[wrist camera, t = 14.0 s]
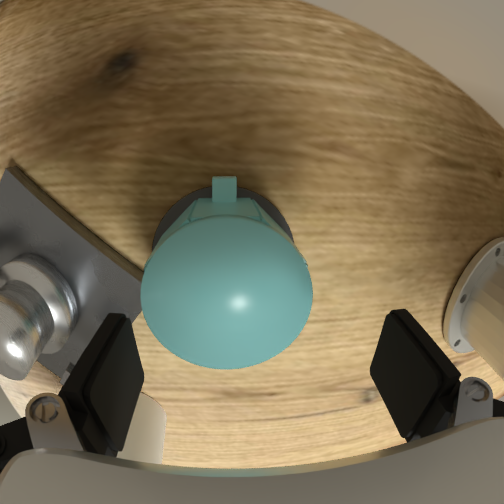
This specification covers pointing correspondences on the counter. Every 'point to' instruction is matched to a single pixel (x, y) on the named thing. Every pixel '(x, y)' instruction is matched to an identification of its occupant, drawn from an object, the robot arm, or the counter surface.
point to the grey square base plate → (54, 282)
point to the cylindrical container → (145, 432)
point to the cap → (226, 283)
